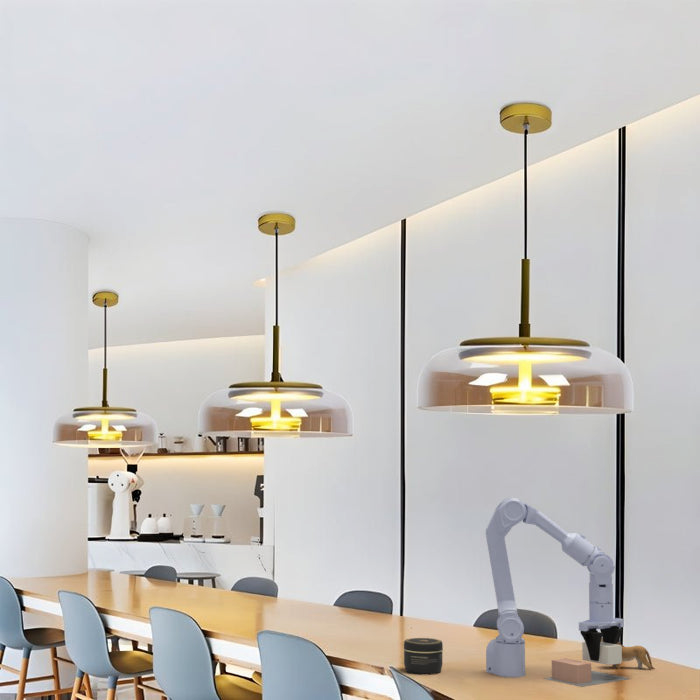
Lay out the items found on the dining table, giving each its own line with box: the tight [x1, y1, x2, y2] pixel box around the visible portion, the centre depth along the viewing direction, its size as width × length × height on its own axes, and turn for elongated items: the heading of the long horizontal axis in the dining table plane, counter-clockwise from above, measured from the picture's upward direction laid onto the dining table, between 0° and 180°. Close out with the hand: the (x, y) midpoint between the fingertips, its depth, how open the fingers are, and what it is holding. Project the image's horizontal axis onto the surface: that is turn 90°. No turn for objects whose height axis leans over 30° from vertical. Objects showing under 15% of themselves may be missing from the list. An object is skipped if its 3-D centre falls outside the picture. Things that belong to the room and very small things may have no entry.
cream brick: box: [581, 641, 623, 666], centre depth 244 cm, size 8×5×4 cm, turn 36°
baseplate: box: [542, 670, 632, 688], centre depth 242 cm, size 12×18×1 cm, turn 126°
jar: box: [403, 637, 444, 675], centre depth 254 cm, size 10×10×8 cm
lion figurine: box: [601, 637, 656, 671], centre depth 256 cm, size 15×5×9 cm, turn 93°
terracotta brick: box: [551, 657, 592, 684], centre depth 240 cm, size 8×5×4 cm, turn 36°
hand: (601, 659), depth 244 cm, fingers closed on cream brick, 5 cm apart
